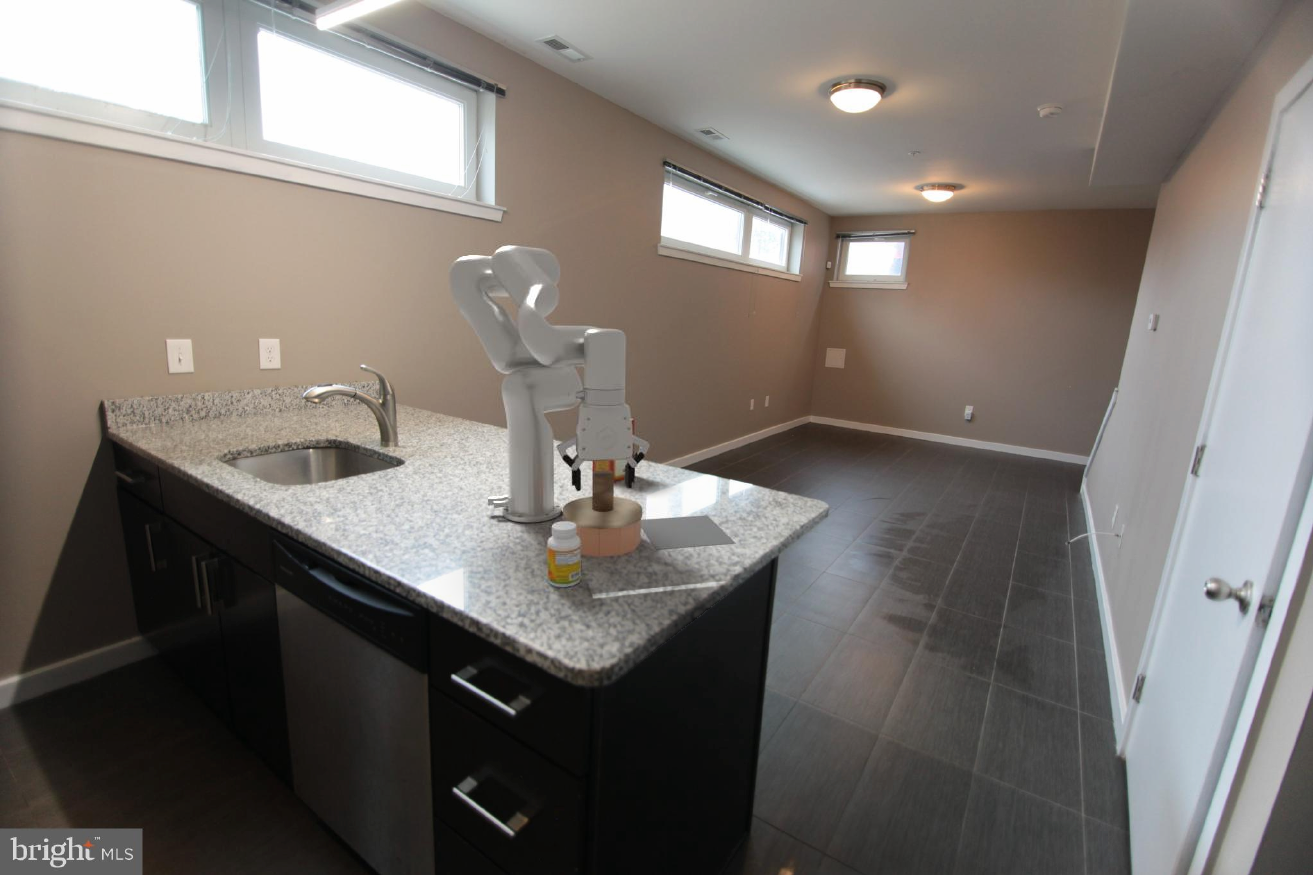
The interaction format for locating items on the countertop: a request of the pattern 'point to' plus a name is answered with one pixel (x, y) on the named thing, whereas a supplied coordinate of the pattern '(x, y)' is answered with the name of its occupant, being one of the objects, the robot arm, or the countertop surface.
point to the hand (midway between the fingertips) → (603, 487)
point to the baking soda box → (614, 464)
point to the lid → (602, 506)
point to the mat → (684, 532)
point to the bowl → (609, 540)
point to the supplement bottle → (564, 555)
